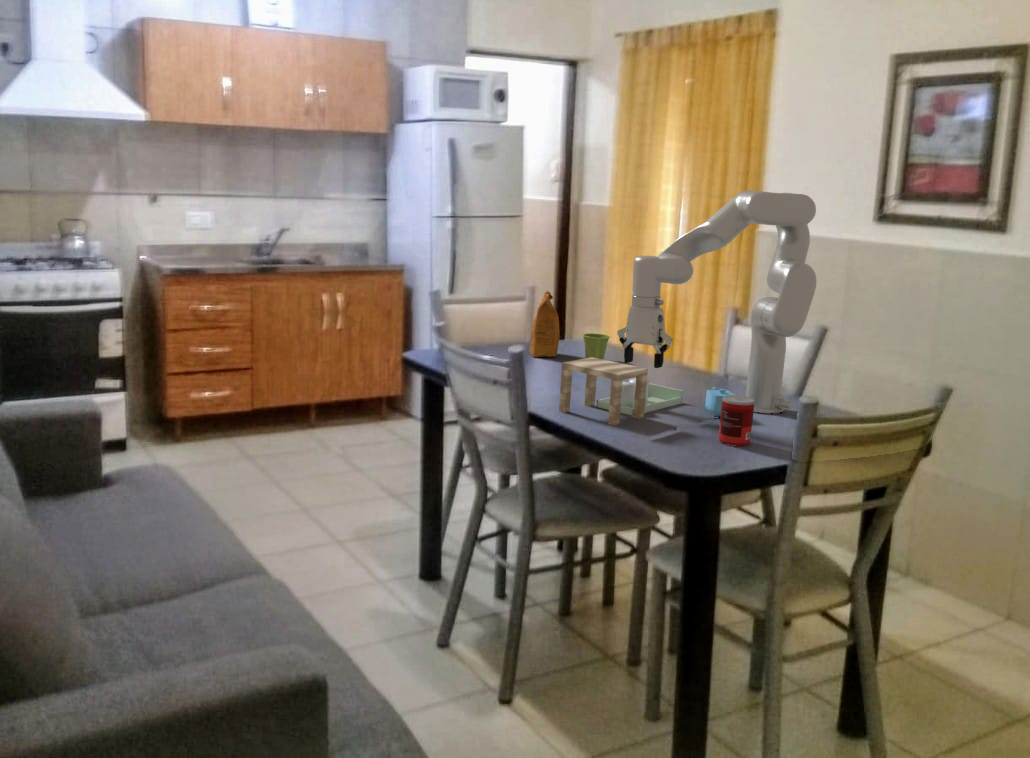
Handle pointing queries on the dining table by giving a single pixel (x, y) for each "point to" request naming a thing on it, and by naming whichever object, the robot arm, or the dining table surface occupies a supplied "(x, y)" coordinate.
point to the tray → (651, 399)
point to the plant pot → (595, 345)
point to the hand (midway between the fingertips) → (643, 364)
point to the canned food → (736, 420)
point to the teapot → (715, 400)
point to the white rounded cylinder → (627, 394)
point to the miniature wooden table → (616, 374)
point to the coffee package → (545, 329)
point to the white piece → (646, 389)
